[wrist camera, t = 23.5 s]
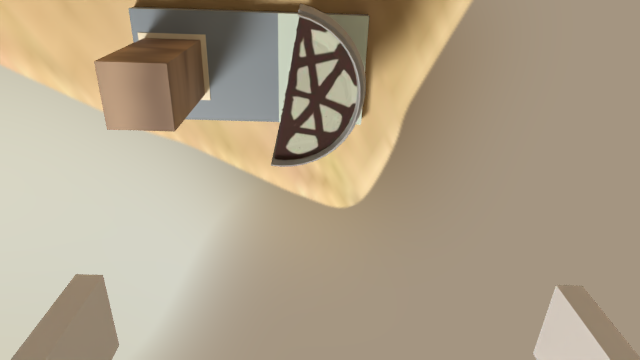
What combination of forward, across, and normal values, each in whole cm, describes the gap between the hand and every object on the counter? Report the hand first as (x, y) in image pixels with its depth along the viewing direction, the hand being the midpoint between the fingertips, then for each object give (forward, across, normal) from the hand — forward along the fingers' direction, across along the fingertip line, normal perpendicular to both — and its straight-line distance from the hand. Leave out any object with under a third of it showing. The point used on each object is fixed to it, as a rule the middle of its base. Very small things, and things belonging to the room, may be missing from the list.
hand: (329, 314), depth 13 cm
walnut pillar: (+31, -14, 0) cm, 34 cm away
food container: (+32, 0, 0) cm, 32 cm away
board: (+33, -6, 0) cm, 33 cm away
